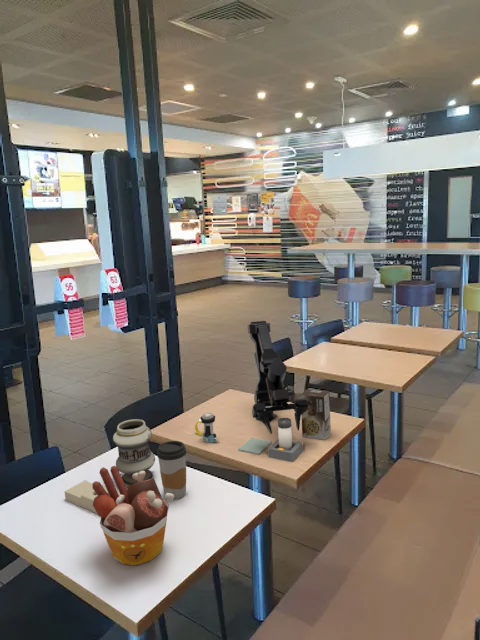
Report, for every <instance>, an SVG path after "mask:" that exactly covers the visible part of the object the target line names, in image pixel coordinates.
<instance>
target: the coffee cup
mask: <svg viewBox="0 0 480 640" xmlns="http://www.w3.org/2000/svg"><path fill="white" fill-rule="evenodd" d="M156 451H157V452H156V453H157V454H156V455H157V456H156V457H157V458H158V464H159V471H160V472H159V473H160V477H161V484H162V488H163V495H164V496H165V495H166V493H171V494H174V498H173V500H172V501H174V500H179V499H183V498H184V497H185V495H186V493H187V459H186V458H187V457H186V455H187V448H186V446H185V444H184V443H183V442H182V441H179V440H170V441H165V442H163V443H161V444H159V446H158V448H157V450H156Z"/></svg>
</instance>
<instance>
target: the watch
mask: <svg viewBox="0 0 480 640" xmlns="http://www.w3.org/2000/svg"><path fill="white" fill-rule="evenodd" d="M198 423H201V424H203V423H202V421H201V419H200V418H199V419H198V421H196V422H195V425H194V430H195V432H196V434H198V436H199V435H201V436H203V433H204V432H201V431H200V430H199V429H198Z"/></svg>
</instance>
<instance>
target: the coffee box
mask: <svg viewBox="0 0 480 640" xmlns="http://www.w3.org/2000/svg"><path fill="white" fill-rule="evenodd" d="M299 399H306V400H307V401H308V404H309V406H308V408H307V411H306V412H304V413H303V414H302V415H301V418H300V419H301V437H302V438H308V439H309V438H310V439H315V440H316V439H317V440H324V441H326V440H327V439H328V438H329V437H330V436H331V434H332V431H331V430H332V429H331V428H332V427H331V398H330V391H329V390H328V391H327V390H321V389H320V390H317V389H309V388H308V389H305V390H304V391H303V392H302V393H301V394H300V397H299Z"/></svg>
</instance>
